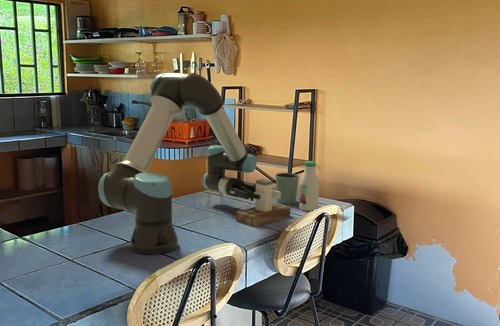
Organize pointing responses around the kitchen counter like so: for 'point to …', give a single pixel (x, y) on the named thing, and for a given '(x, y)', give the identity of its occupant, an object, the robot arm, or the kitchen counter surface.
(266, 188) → the plug
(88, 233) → the kitchen counter surface
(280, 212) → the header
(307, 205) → the milk bottle
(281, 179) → the green cup
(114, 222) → the kitchen counter surface
